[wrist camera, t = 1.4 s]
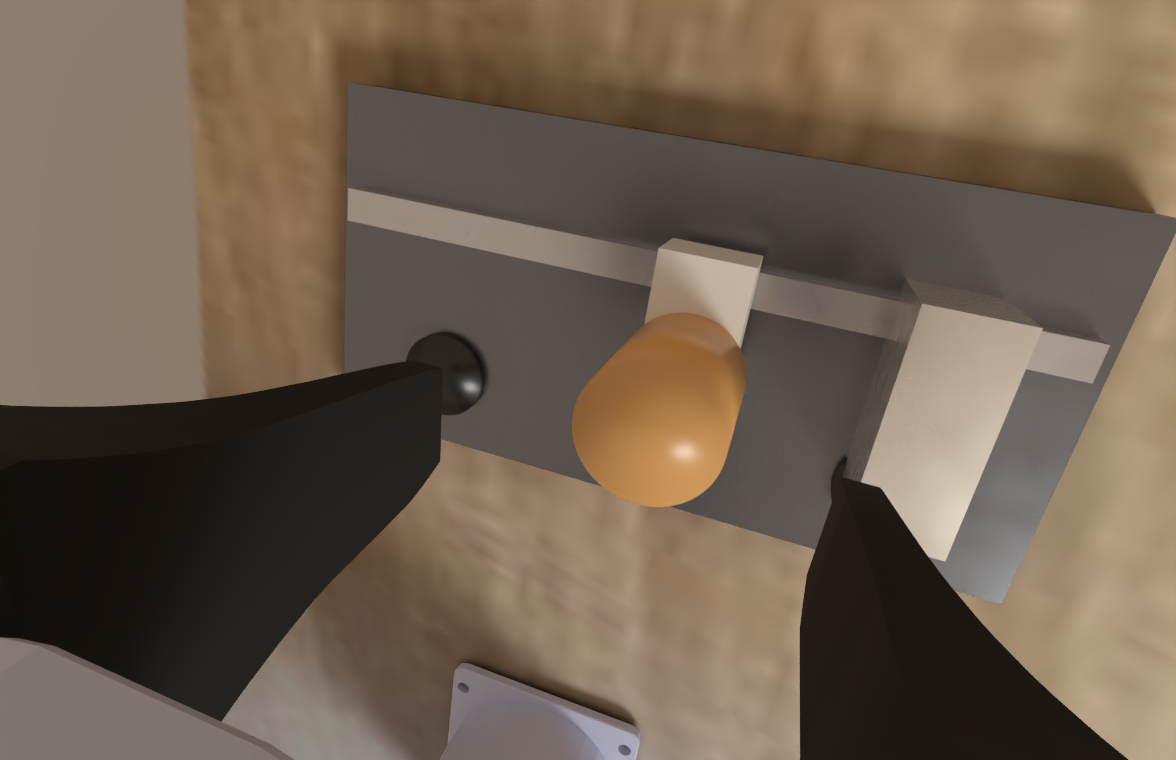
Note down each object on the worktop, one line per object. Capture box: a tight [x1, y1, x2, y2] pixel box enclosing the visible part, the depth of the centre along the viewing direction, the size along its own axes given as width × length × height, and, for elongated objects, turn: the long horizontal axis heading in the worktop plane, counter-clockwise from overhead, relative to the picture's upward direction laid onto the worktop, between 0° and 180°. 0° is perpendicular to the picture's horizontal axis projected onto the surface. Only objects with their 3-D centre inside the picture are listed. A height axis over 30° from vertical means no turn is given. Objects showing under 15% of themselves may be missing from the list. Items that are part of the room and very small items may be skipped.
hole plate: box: [344, 82, 1176, 604], centre depth 19 cm, size 11×22×4 cm, turn 81°
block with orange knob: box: [572, 238, 763, 507], centre depth 16 cm, size 7×3×6 cm, turn 171°
